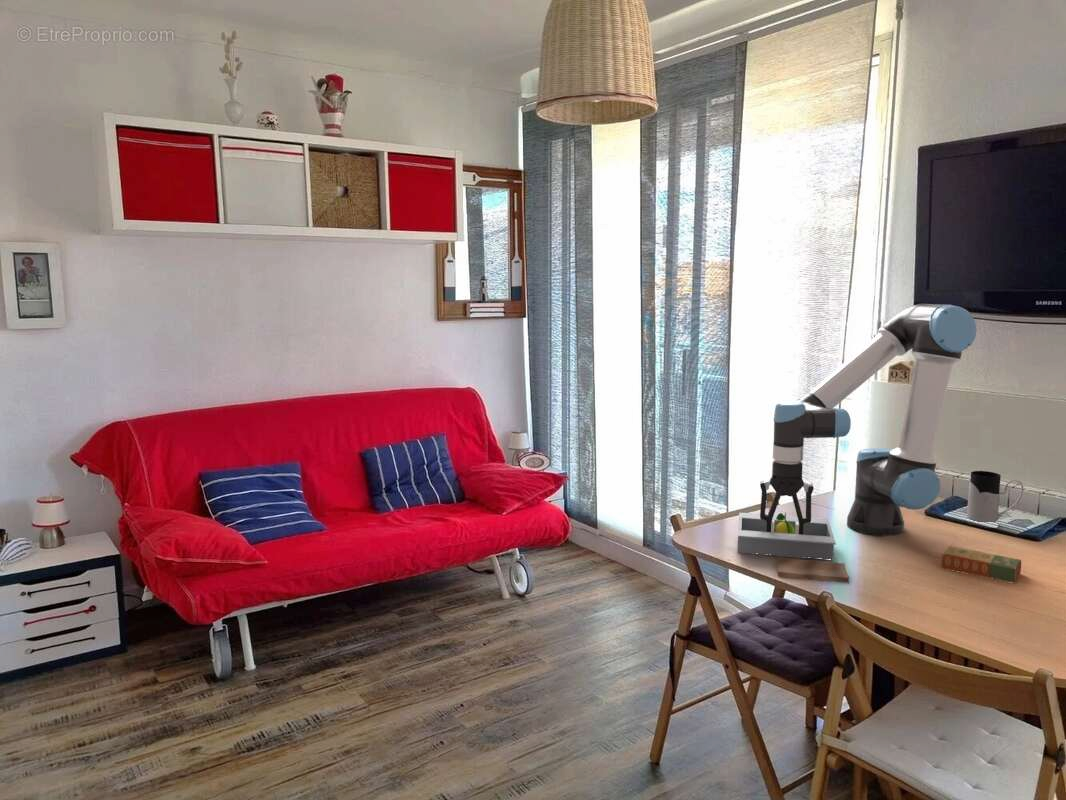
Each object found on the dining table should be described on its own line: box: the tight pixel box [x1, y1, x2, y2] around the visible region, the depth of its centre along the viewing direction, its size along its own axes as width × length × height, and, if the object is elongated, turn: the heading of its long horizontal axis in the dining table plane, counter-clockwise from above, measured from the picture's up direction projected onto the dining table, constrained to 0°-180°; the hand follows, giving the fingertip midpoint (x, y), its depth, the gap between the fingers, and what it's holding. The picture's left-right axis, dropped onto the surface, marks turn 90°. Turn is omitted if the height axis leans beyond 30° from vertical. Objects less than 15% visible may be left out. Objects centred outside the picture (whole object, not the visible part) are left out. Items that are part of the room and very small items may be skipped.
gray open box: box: [737, 512, 837, 561], centre depth 212 cm, size 24×21×6 cm
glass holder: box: [966, 470, 1024, 522], centre depth 230 cm, size 9×14×15 cm, turn 74°
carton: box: [940, 545, 1022, 584], centre depth 195 cm, size 8×16×4 cm, turn 51°
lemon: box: [774, 512, 795, 534], centre depth 211 cm, size 7×6×10 cm
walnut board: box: [776, 557, 850, 583], centre depth 195 cm, size 16×10×1 cm, turn 75°
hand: (784, 545), depth 212 cm, fingers closed on lemon, 5 cm apart
